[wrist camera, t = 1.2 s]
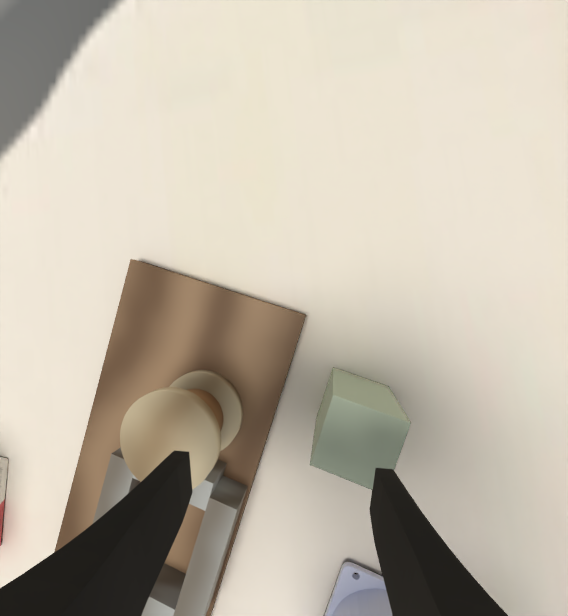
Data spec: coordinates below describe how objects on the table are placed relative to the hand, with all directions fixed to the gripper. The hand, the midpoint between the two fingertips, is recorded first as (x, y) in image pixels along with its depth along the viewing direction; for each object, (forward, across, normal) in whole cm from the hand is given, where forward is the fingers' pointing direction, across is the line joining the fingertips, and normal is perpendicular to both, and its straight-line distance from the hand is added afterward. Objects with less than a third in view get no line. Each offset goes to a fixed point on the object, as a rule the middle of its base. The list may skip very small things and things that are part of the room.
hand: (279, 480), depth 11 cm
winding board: (+10, +9, +8) cm, 15 cm away
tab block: (+10, -4, +3) cm, 11 cm away
